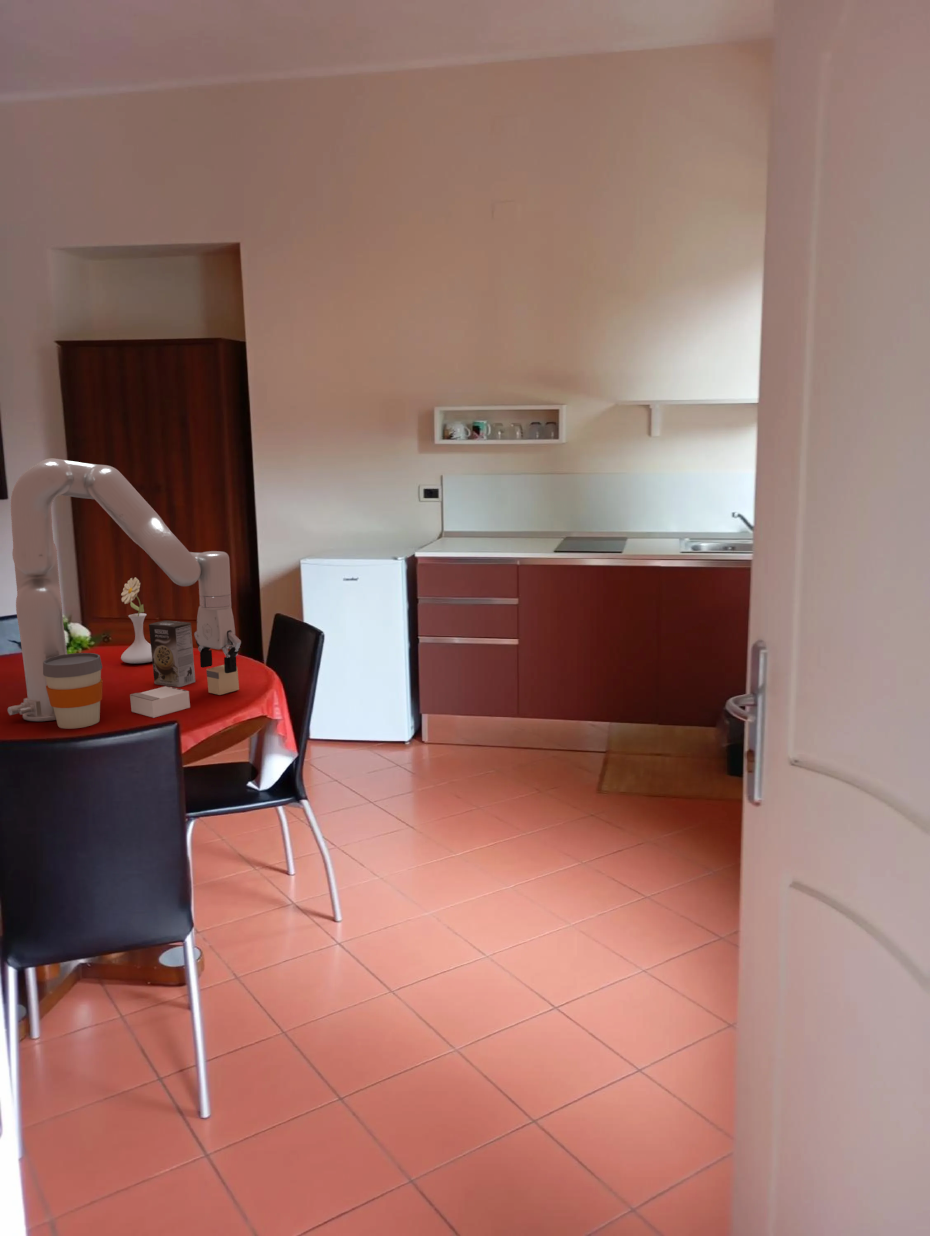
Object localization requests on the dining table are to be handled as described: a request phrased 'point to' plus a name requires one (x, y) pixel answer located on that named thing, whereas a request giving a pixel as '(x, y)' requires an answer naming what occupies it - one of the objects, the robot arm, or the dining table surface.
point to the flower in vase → (136, 627)
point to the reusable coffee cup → (74, 688)
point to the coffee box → (172, 653)
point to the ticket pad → (160, 701)
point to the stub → (222, 680)
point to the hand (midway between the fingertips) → (218, 669)
